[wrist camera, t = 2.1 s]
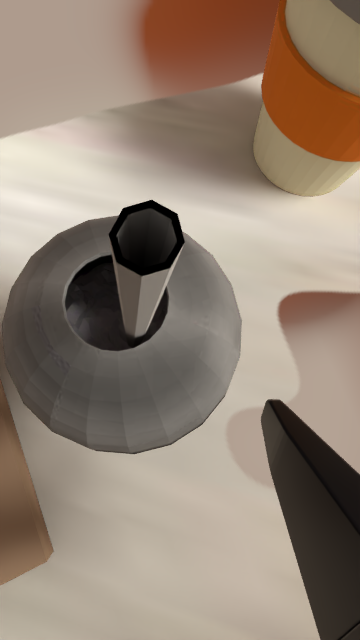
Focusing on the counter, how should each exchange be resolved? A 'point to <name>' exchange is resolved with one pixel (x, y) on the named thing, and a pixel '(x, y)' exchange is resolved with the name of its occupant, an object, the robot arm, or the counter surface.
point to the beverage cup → (122, 332)
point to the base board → (18, 506)
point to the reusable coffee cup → (311, 97)
